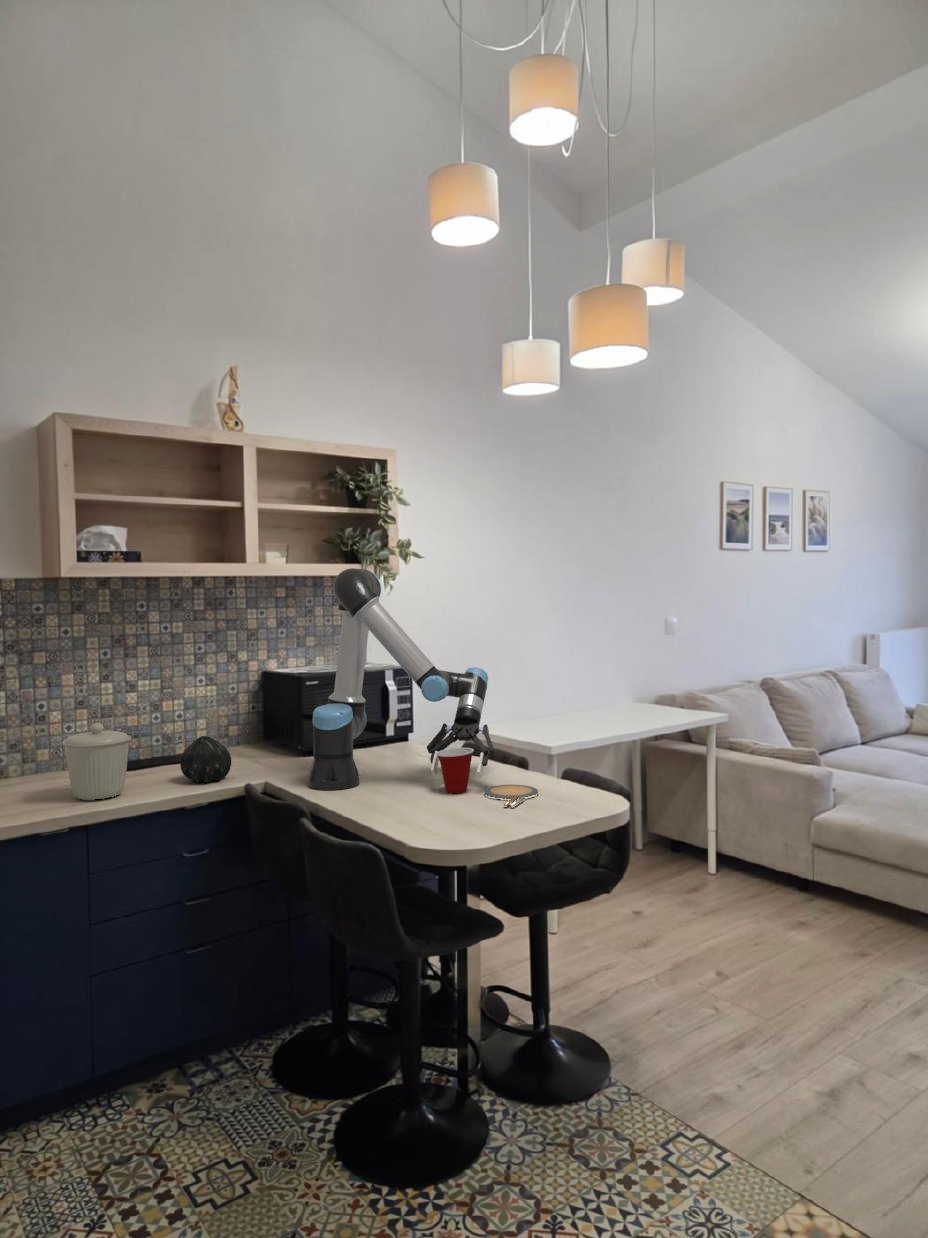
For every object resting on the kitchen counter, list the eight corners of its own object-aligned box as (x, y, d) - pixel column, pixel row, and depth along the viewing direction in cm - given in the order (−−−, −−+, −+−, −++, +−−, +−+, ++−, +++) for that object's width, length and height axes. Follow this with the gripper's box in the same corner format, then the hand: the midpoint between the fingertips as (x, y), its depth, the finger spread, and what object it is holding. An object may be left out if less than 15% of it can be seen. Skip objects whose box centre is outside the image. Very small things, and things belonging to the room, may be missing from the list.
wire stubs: (513, 809, 221) (513, 804, 221) (502, 808, 222) (502, 803, 222) (525, 801, 230) (525, 796, 230) (515, 800, 231) (515, 795, 231)
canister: (143, 796, 242) (141, 722, 242) (78, 808, 229) (76, 730, 229) (117, 786, 255) (115, 716, 254) (54, 797, 242) (51, 724, 241)
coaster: (514, 803, 227) (514, 799, 227) (473, 795, 237) (473, 791, 237) (548, 793, 238) (548, 789, 238) (508, 785, 248) (508, 781, 248)
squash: (219, 755, 273) (192, 724, 265) (247, 762, 264) (220, 731, 255) (190, 790, 266) (161, 760, 257) (218, 799, 256) (188, 768, 248)
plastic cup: (437, 787, 247) (436, 746, 247) (474, 787, 247) (474, 746, 246) (435, 796, 236) (434, 753, 236) (474, 796, 236) (473, 753, 235)
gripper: (511, 721, 253) (501, 782, 239) (432, 719, 260) (417, 779, 246) (507, 706, 248) (496, 768, 234) (426, 704, 255) (411, 764, 241)
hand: (455, 773), depth 240 cm, fingers open, 13 cm apart
